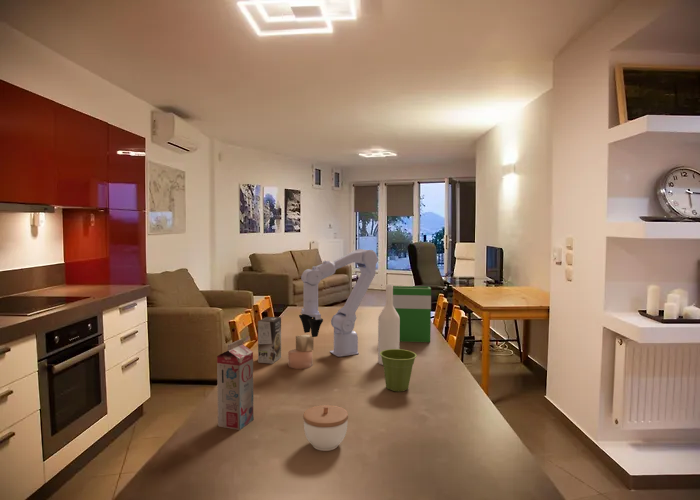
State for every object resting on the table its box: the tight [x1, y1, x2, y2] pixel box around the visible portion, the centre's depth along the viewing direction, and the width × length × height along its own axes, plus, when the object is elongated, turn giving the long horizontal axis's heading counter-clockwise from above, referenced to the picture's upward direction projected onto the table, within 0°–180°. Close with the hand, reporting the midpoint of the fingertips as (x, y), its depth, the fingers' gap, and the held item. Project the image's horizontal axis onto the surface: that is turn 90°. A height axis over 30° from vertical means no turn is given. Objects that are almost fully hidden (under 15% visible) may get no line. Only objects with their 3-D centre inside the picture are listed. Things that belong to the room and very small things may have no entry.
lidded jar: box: [302, 404, 349, 452], centre depth 112 cm, size 11×11×9 cm
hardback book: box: [393, 285, 432, 343], centre depth 212 cm, size 18×7×24 cm, turn 85°
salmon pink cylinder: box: [287, 348, 313, 370], centre depth 174 cm, size 9×9×5 cm
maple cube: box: [295, 334, 315, 352], centre depth 177 cm, size 5×5×5 cm
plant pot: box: [380, 348, 418, 392], centre depth 150 cm, size 12×12×11 cm
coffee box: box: [257, 316, 282, 365], centre depth 180 cm, size 9×6×16 cm
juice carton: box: [216, 338, 255, 431], centre depth 123 cm, size 7×7×22 cm
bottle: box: [377, 283, 400, 366], centre depth 176 cm, size 8×8×30 cm
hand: (310, 334), depth 182 cm, fingers open, 7 cm apart
